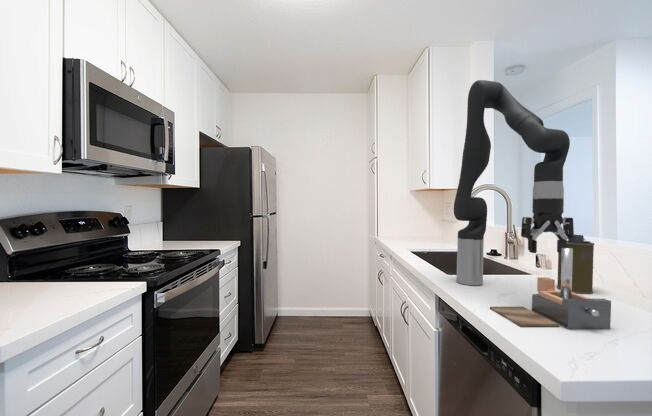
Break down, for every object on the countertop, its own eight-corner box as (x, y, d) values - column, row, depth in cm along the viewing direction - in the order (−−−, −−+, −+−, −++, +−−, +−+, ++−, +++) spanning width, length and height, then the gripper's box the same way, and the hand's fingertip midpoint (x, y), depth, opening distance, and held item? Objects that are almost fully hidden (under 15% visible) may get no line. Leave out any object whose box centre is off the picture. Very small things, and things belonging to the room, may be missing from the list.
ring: (527, 290, 96) (527, 277, 96) (556, 290, 97) (556, 277, 97) (562, 305, 83) (563, 289, 83) (596, 305, 83) (596, 289, 83)
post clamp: (531, 311, 93) (533, 245, 93) (568, 311, 93) (570, 245, 93) (574, 332, 78) (576, 254, 78) (617, 332, 79) (620, 254, 78)
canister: (578, 295, 111) (579, 236, 110) (549, 287, 121) (551, 233, 120) (601, 293, 113) (603, 236, 113) (571, 285, 123) (573, 233, 123)
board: (489, 308, 95) (489, 306, 95) (522, 308, 95) (522, 306, 95) (520, 327, 81) (520, 324, 81) (559, 326, 81) (559, 324, 81)
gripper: (561, 198, 99) (560, 251, 99) (516, 197, 98) (515, 250, 98) (581, 197, 91) (580, 254, 91) (533, 196, 91) (532, 254, 91)
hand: (546, 252), depth 95 cm, fingers open, 8 cm apart
